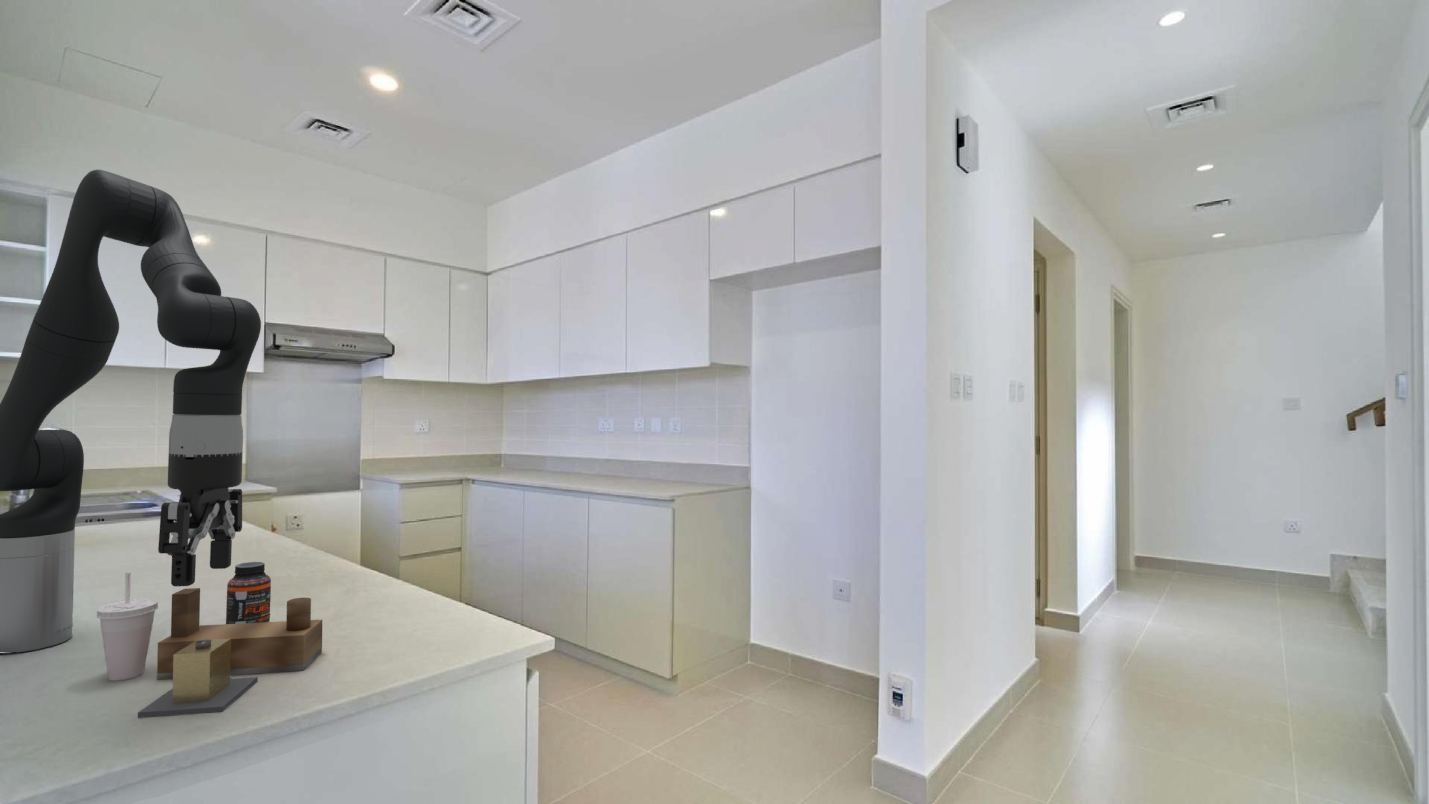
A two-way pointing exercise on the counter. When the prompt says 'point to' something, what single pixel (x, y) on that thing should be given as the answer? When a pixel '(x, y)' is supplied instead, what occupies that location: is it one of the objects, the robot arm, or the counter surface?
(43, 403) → the robot arm
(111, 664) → the smoothie
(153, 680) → the counter surface
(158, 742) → the counter surface
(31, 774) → the counter surface
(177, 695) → the brushed brass block
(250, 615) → the supplement bottle
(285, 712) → the counter surface
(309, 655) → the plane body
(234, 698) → the mat
